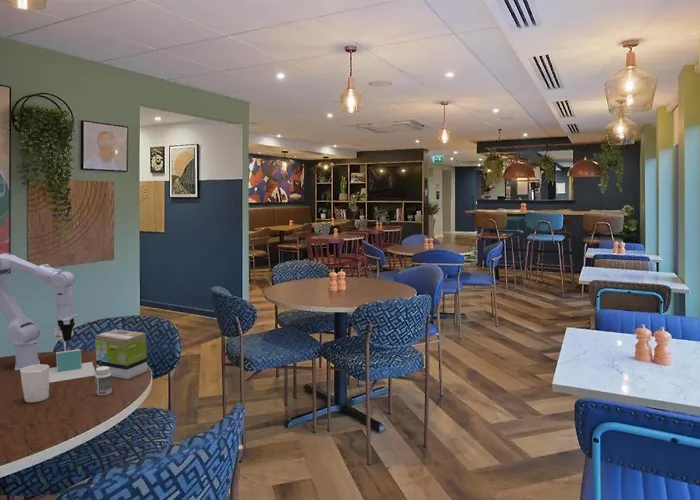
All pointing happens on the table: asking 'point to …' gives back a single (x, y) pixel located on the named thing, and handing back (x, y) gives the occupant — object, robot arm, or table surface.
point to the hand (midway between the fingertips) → (67, 339)
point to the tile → (68, 360)
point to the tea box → (122, 352)
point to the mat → (72, 373)
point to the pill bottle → (103, 381)
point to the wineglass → (60, 336)
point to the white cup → (35, 382)
